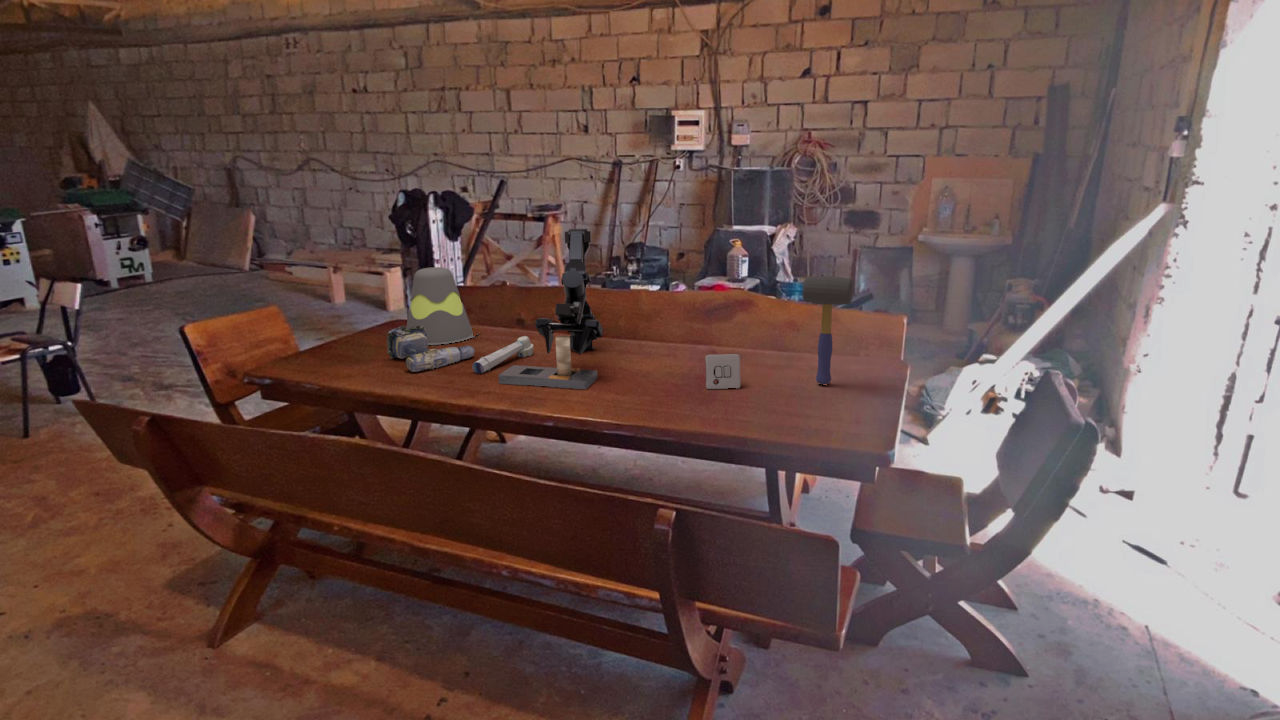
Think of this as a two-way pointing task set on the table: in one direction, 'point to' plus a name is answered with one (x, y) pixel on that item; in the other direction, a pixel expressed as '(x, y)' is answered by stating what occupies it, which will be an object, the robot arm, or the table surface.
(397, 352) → the power drill
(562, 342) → the birch peg
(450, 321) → the grey tapered bucket
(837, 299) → the rubber mallet
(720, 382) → the electrical switch
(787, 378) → the table surface
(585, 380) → the grey peg hole board
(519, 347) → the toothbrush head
